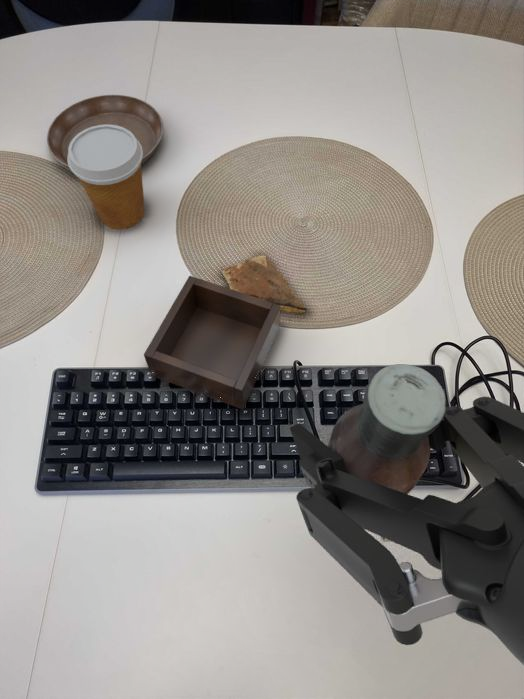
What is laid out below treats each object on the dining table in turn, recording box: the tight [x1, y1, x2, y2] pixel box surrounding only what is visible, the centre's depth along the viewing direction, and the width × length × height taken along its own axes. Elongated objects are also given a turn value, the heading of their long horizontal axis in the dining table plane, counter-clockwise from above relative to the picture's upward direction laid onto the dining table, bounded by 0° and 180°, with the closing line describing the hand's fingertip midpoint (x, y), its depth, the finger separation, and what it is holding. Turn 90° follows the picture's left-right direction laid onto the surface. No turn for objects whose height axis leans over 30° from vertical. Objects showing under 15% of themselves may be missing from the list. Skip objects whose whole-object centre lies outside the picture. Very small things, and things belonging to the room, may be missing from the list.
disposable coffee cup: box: [67, 125, 145, 230], centre depth 73 cm, size 10×10×12 cm
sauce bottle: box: [327, 363, 447, 495], centre depth 36 cm, size 7×6×20 cm
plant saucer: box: [46, 94, 164, 169], centre depth 84 cm, size 18×18×3 cm
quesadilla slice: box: [221, 254, 308, 314], centre depth 71 cm, size 11×8×2 cm
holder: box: [143, 275, 282, 411], centre depth 65 cm, size 12×12×6 cm
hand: (341, 421), depth 39 cm, fingers closed on sauce bottle, 6 cm apart
